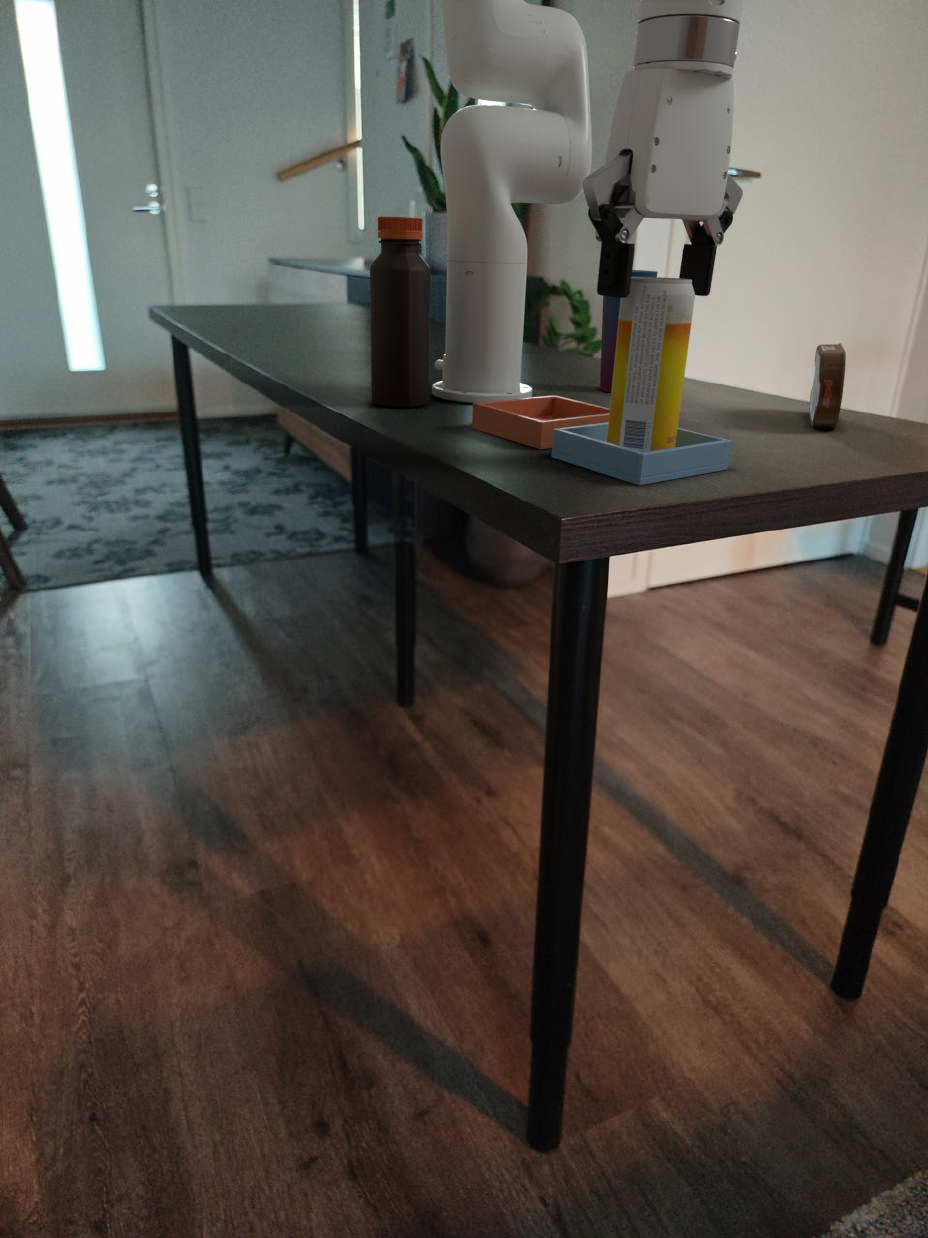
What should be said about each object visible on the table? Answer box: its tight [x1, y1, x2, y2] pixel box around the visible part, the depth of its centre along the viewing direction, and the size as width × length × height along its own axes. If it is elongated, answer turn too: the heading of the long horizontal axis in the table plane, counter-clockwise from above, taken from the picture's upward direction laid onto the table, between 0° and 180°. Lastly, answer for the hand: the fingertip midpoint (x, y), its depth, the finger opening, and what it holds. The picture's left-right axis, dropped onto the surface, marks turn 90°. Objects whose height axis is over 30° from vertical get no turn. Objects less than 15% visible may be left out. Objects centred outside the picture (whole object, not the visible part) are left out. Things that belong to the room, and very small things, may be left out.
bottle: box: [369, 216, 432, 409], centre depth 97 cm, size 7×7×20 cm
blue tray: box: [550, 422, 733, 486], centre depth 77 cm, size 11×11×3 cm
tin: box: [808, 342, 847, 430], centre depth 97 cm, size 15×3×8 cm, turn 161°
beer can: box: [607, 276, 696, 452], centre depth 74 cm, size 6×6×15 cm
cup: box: [599, 269, 659, 393], centre depth 112 cm, size 7×7×15 cm
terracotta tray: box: [471, 394, 610, 451], centre depth 88 cm, size 11×11×3 cm
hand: (654, 295), depth 72 cm, fingers open, 9 cm apart
